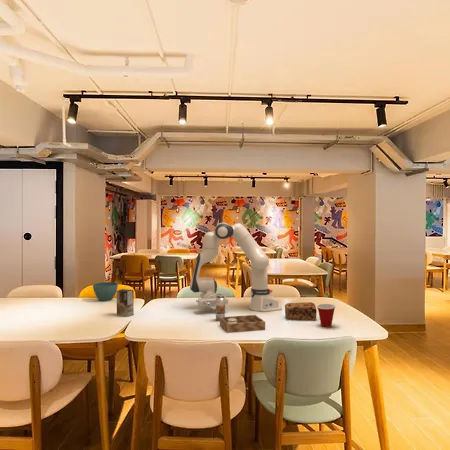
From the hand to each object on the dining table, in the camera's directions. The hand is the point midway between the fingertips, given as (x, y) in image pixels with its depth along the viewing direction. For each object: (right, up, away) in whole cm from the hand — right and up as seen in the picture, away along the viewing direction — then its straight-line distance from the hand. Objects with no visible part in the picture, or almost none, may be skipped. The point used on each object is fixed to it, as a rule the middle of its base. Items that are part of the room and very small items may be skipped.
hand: (215, 303), depth 243 cm
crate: (+16, -8, -26) cm, 32 cm away
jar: (+10, -8, -30) cm, 33 cm away
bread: (+53, -8, -6) cm, 54 cm away
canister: (+3, -8, -11) cm, 14 cm away
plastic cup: (+65, -8, -23) cm, 69 cm away
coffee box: (-58, -7, +1) cm, 59 cm away
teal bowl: (-86, -7, +46) cm, 98 cm away
